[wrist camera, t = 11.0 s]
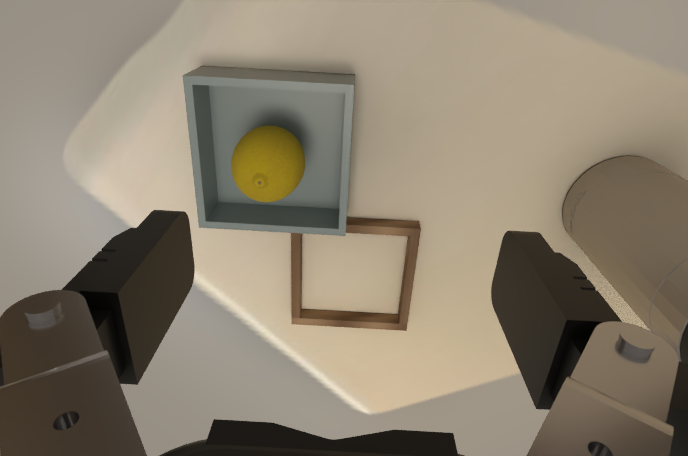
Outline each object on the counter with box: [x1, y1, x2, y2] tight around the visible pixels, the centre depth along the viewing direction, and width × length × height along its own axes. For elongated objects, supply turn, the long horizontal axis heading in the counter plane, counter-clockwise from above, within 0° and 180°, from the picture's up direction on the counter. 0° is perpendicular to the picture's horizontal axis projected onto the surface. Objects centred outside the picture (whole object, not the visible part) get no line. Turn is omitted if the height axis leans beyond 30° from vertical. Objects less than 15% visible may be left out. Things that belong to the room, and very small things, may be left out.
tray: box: [291, 217, 421, 331], centre depth 45 cm, size 12×12×2 cm
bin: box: [183, 66, 355, 236], centre depth 38 cm, size 12×12×4 cm
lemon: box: [231, 125, 305, 202], centre depth 36 cm, size 6×6×8 cm
